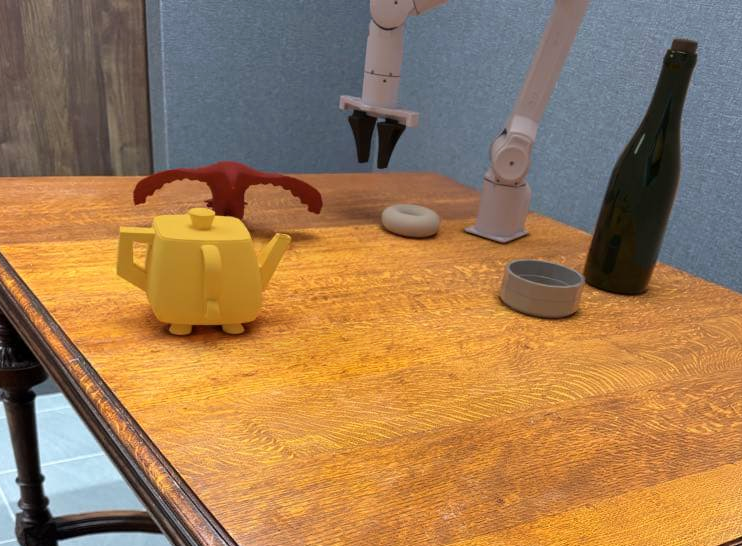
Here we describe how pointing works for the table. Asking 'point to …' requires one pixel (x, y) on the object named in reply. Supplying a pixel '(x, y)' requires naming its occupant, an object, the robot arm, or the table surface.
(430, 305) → the table surface
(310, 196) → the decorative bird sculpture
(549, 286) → the pan
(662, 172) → the wine bottle
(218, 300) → the teapot
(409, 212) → the donut
